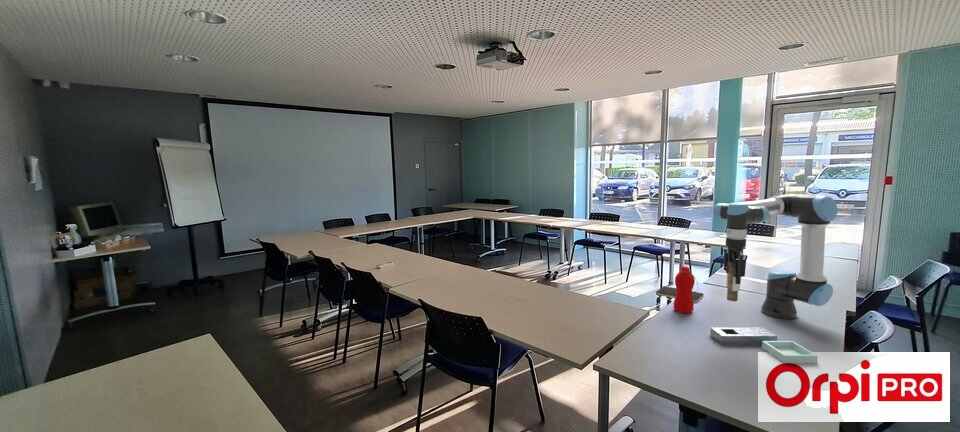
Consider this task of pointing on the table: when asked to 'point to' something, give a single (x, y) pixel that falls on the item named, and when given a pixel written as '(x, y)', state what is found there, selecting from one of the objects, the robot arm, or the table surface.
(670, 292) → the hardcover book
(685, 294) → the water bottle
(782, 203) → the robot arm
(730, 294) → the pin
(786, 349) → the tray
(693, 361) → the table surface
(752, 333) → the block
